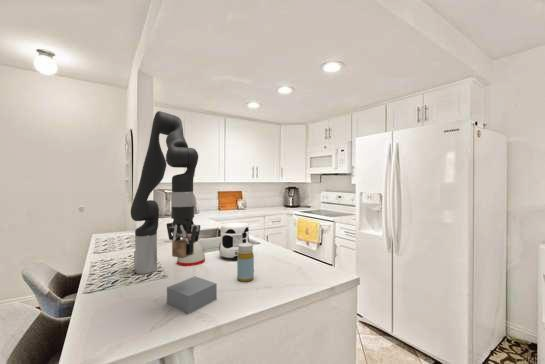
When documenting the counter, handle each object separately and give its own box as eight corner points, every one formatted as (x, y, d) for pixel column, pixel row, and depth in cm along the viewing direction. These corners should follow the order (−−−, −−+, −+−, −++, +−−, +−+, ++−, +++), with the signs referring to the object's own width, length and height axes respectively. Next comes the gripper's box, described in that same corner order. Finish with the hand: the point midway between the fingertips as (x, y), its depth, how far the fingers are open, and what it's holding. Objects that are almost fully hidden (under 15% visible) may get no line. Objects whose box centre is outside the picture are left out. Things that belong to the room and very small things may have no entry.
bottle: (234, 279, 109) (234, 244, 109) (246, 274, 114) (246, 241, 114) (244, 283, 104) (244, 247, 104) (257, 278, 109) (256, 244, 109)
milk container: (232, 250, 153) (232, 220, 153) (256, 254, 144) (256, 223, 144) (212, 258, 138) (212, 225, 138) (237, 263, 129) (237, 228, 129)
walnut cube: (172, 256, 87) (172, 241, 87) (183, 252, 91) (183, 238, 91) (183, 258, 84) (182, 243, 84) (193, 254, 89) (193, 240, 89)
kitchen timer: (196, 256, 142) (196, 229, 142) (209, 261, 133) (209, 233, 133) (172, 262, 132) (172, 233, 132) (185, 268, 123) (184, 237, 123)
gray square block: (166, 304, 88) (166, 287, 88) (195, 291, 98) (194, 276, 98) (188, 314, 81) (188, 296, 81) (216, 299, 91) (216, 283, 91)
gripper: (159, 205, 87) (159, 253, 88) (190, 206, 81) (191, 259, 81) (176, 203, 94) (176, 248, 94) (206, 204, 88) (206, 253, 88)
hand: (183, 253), depth 88 cm, fingers closed on walnut cube, 5 cm apart
